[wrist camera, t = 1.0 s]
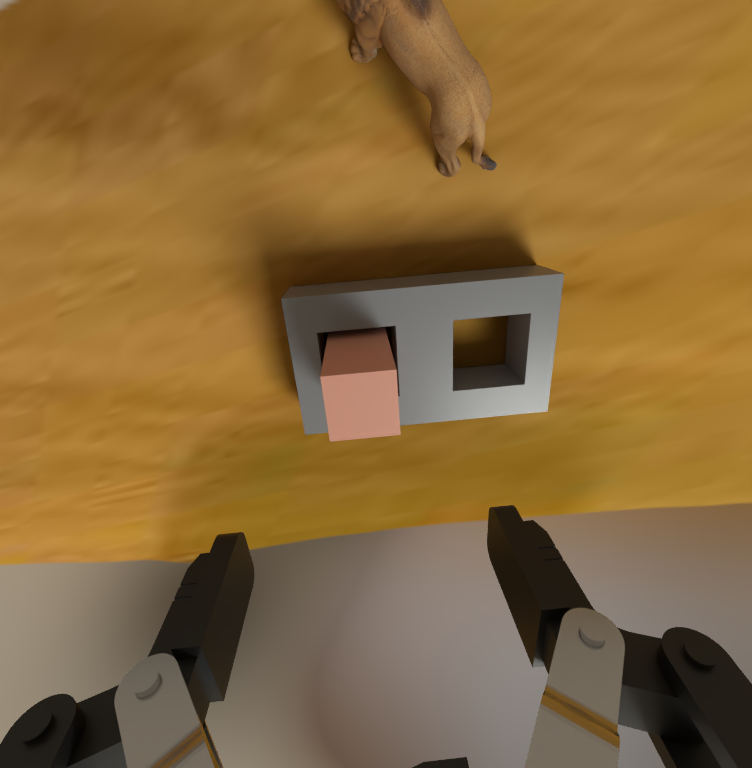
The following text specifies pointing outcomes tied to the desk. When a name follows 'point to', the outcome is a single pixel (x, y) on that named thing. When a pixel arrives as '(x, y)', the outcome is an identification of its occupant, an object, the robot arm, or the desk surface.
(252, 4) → the desk surface
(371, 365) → the peg
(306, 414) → the pocket board
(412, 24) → the lion figurine
